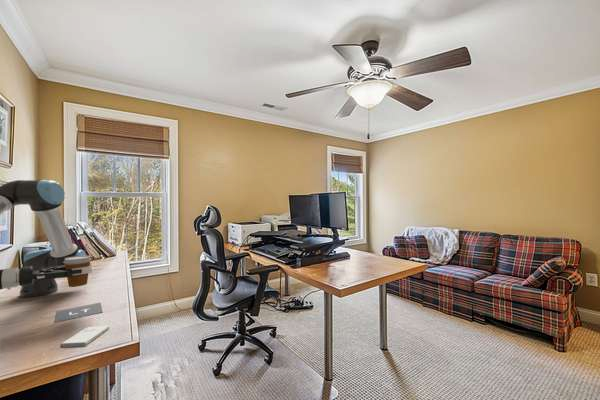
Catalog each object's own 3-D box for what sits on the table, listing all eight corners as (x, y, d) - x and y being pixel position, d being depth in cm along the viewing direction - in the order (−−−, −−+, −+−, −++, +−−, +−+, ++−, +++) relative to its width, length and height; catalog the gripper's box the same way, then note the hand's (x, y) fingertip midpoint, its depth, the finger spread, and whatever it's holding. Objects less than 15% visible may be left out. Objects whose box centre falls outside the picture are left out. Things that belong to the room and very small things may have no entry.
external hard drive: (60, 348, 91) (87, 330, 104) (85, 347, 92) (109, 329, 104) (60, 343, 91) (86, 326, 104) (85, 342, 92) (109, 325, 104)
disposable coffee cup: (96, 282, 123) (96, 255, 123) (73, 289, 114) (72, 260, 114) (82, 280, 126) (82, 254, 126) (58, 287, 117) (57, 259, 117)
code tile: (56, 311, 122) (56, 311, 122) (100, 302, 132) (100, 302, 132) (53, 322, 110) (53, 322, 110) (102, 312, 120) (102, 311, 120)
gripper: (23, 280, 117) (90, 271, 131) (14, 293, 100) (92, 281, 114) (23, 263, 117) (90, 255, 131) (14, 272, 100) (92, 263, 114)
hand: (91, 267), depth 123 cm, fingers closed on disposable coffee cup, 8 cm apart
